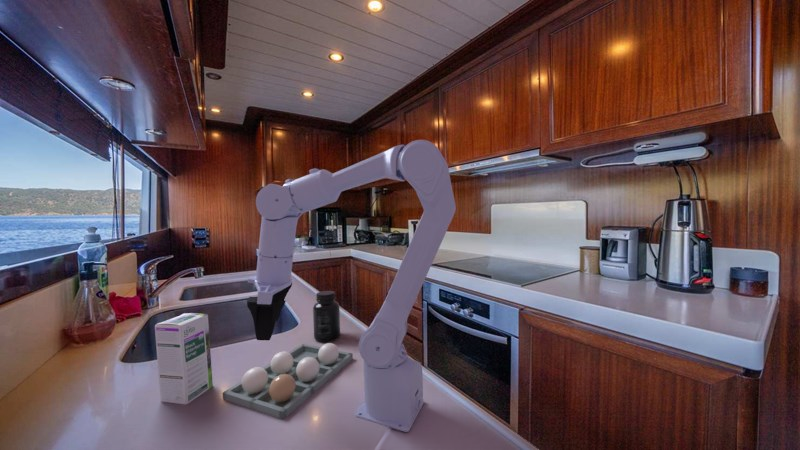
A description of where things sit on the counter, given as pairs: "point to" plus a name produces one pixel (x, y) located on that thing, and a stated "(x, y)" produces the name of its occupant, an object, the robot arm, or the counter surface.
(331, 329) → the supplement bottle
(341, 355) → the egg carton
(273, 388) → the brown egg
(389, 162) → the robot arm
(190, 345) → the syrup box
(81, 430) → the counter surface
